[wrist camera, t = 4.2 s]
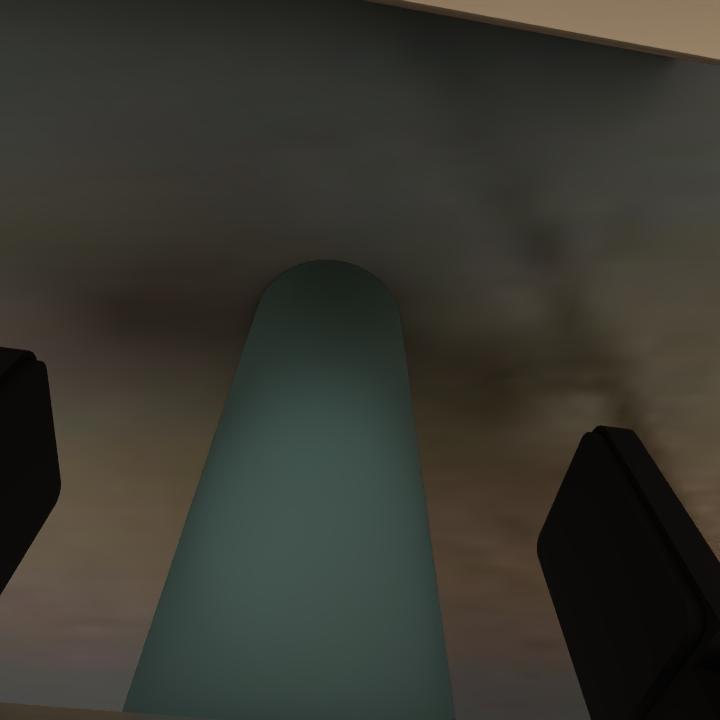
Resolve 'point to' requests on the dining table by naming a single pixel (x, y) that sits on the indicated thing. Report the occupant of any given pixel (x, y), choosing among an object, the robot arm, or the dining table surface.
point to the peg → (306, 528)
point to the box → (600, 22)
